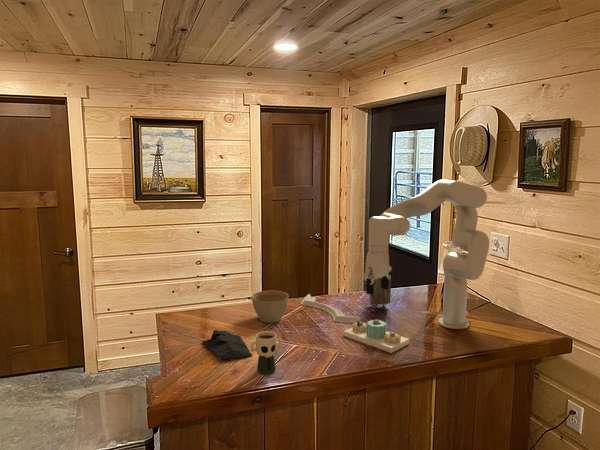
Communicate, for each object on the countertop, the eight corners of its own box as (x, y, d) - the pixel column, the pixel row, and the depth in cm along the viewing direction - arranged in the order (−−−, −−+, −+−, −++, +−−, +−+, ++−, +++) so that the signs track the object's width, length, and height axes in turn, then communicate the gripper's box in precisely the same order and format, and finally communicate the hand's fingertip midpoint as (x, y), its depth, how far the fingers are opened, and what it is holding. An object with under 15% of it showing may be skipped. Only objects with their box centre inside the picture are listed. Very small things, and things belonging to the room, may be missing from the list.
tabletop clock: (369, 303, 231) (371, 253, 227) (388, 304, 230) (390, 254, 226) (370, 313, 217) (371, 260, 213) (390, 314, 216) (391, 261, 212)
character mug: (254, 378, 156) (253, 341, 154) (248, 369, 162) (247, 333, 160) (285, 373, 160) (285, 336, 158) (277, 364, 166) (277, 329, 164)
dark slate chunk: (213, 365, 166) (213, 352, 166) (201, 342, 186) (201, 330, 186) (255, 358, 172) (255, 346, 171) (239, 336, 192) (239, 325, 192)
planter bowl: (263, 311, 221) (263, 288, 219) (294, 316, 214) (294, 293, 212) (245, 322, 206) (244, 298, 205) (277, 328, 199) (277, 303, 198)
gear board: (362, 327, 200) (362, 309, 199) (408, 343, 184) (409, 324, 183) (343, 335, 192) (344, 316, 190) (391, 353, 176) (391, 332, 174)
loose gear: (374, 330, 193) (374, 318, 192) (389, 335, 187) (390, 323, 186) (362, 335, 187) (362, 323, 186) (378, 340, 182) (378, 328, 181)
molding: (366, 323, 207) (366, 317, 207) (344, 328, 201) (344, 322, 200) (311, 297, 242) (311, 292, 242) (291, 301, 236) (291, 296, 235)
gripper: (383, 243, 191) (382, 284, 193) (356, 250, 179) (355, 294, 181) (399, 246, 185) (398, 288, 188) (372, 253, 173) (371, 298, 176)
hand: (377, 291), depth 185 cm, fingers open, 9 cm apart
